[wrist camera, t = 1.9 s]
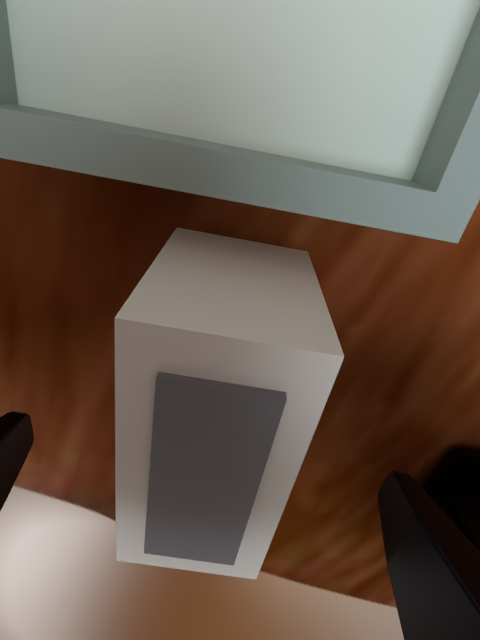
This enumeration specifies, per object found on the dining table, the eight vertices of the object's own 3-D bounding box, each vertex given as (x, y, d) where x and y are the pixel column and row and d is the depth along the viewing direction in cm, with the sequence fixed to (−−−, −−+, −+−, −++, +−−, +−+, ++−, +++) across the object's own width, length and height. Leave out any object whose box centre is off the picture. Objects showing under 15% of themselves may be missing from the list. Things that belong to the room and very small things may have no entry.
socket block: (307, 250, 11) (346, 363, 6) (256, 431, 15) (256, 587, 10) (177, 226, 11) (110, 323, 6) (161, 416, 15) (113, 568, 10)
